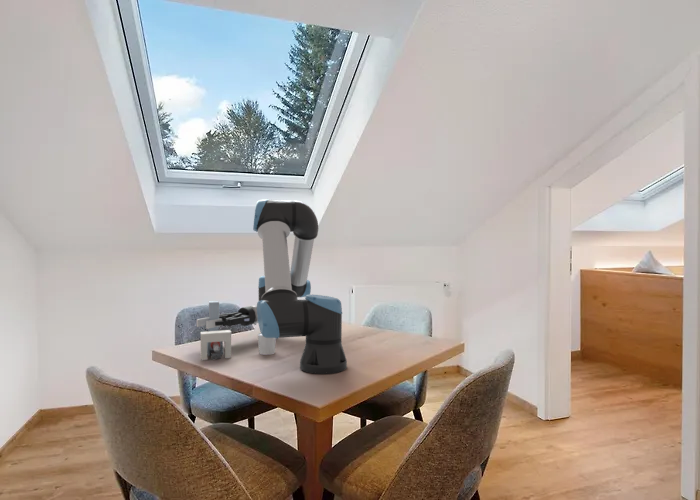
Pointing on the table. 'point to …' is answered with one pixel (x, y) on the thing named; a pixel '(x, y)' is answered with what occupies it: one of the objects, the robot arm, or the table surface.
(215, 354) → the rail
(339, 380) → the table surface
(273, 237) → the robot arm
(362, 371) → the table surface
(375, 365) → the table surface
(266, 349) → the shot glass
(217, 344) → the plunger
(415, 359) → the table surface
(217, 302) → the carriage
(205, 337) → the arch
